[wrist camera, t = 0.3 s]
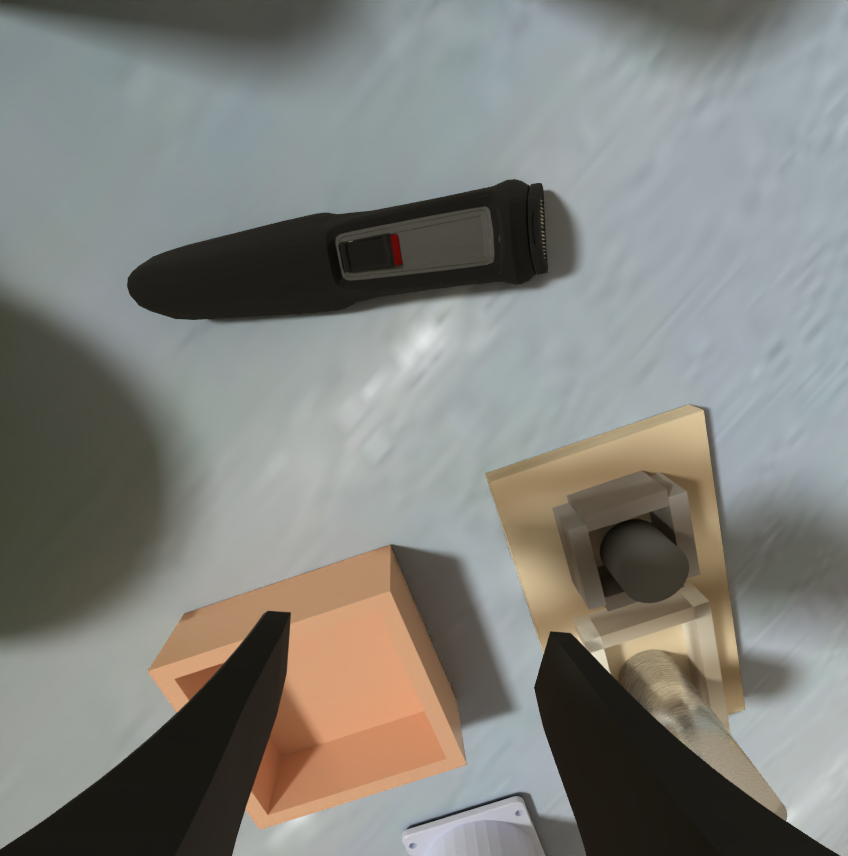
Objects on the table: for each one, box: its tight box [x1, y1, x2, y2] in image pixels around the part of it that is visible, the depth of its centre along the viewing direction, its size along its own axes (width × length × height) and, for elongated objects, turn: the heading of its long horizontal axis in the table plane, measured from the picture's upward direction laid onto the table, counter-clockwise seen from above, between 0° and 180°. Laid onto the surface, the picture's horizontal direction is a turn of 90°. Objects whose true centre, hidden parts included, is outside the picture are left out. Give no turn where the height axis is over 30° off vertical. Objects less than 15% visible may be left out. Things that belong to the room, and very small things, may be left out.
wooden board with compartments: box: [485, 404, 745, 734], centre depth 22 cm, size 19×10×3 cm, turn 19°
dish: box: [148, 545, 467, 829], centre depth 22 cm, size 11×11×4 cm
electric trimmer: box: [127, 179, 548, 320], centre depth 17 cm, size 4×16×3 cm, turn 98°
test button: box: [600, 519, 689, 603], centre depth 19 cm, size 3×3×2 cm
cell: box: [619, 649, 787, 821], centre depth 20 cm, size 3×3×8 cm
